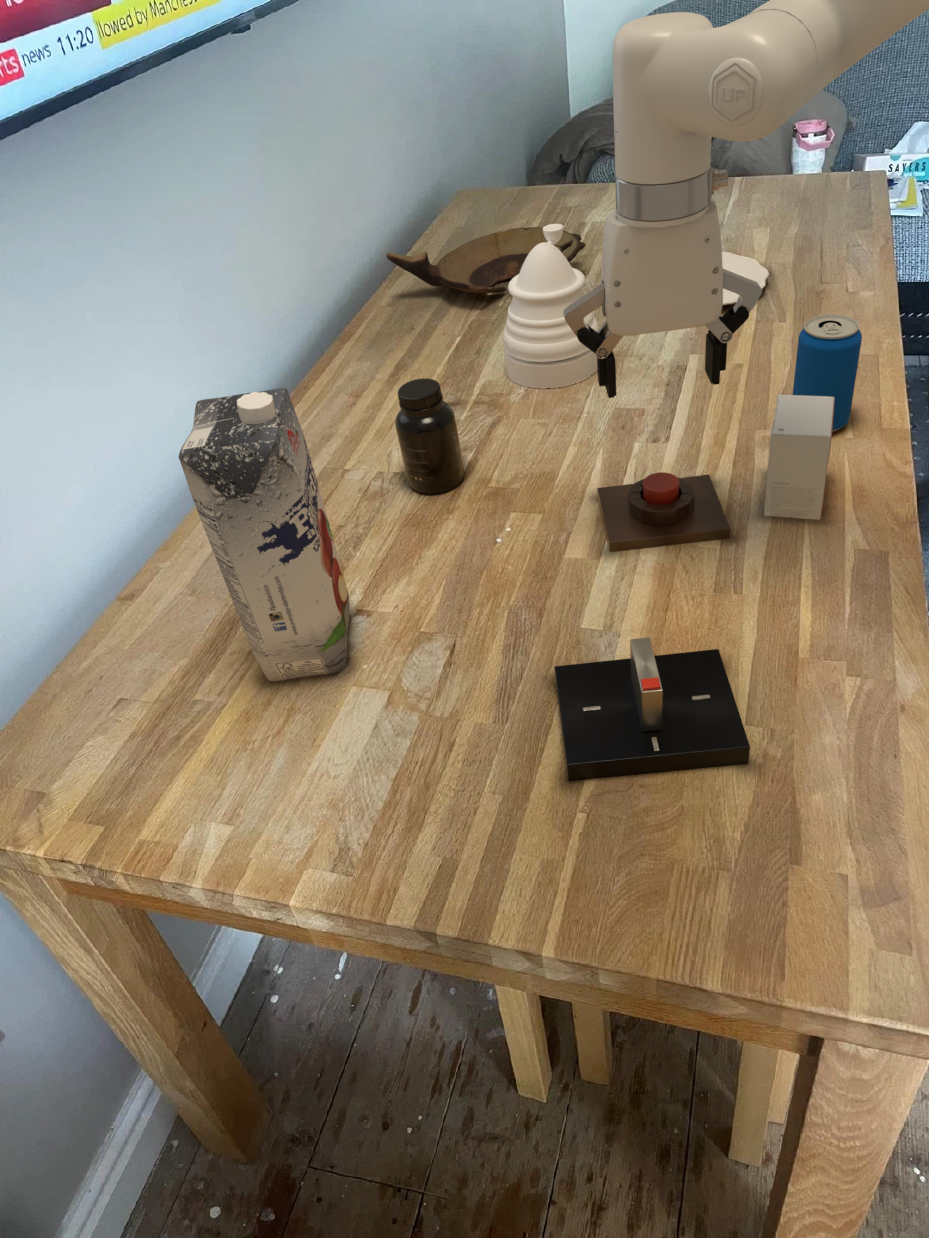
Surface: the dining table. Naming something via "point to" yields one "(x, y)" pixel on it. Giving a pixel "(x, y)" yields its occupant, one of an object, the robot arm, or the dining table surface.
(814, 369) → the beverage can
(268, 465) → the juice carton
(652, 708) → the knob
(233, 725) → the dining table surface
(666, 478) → the button
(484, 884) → the dining table surface
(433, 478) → the supplement bottle
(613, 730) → the console
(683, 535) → the button block
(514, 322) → the honey pot
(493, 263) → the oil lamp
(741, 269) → the plate
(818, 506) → the small box
